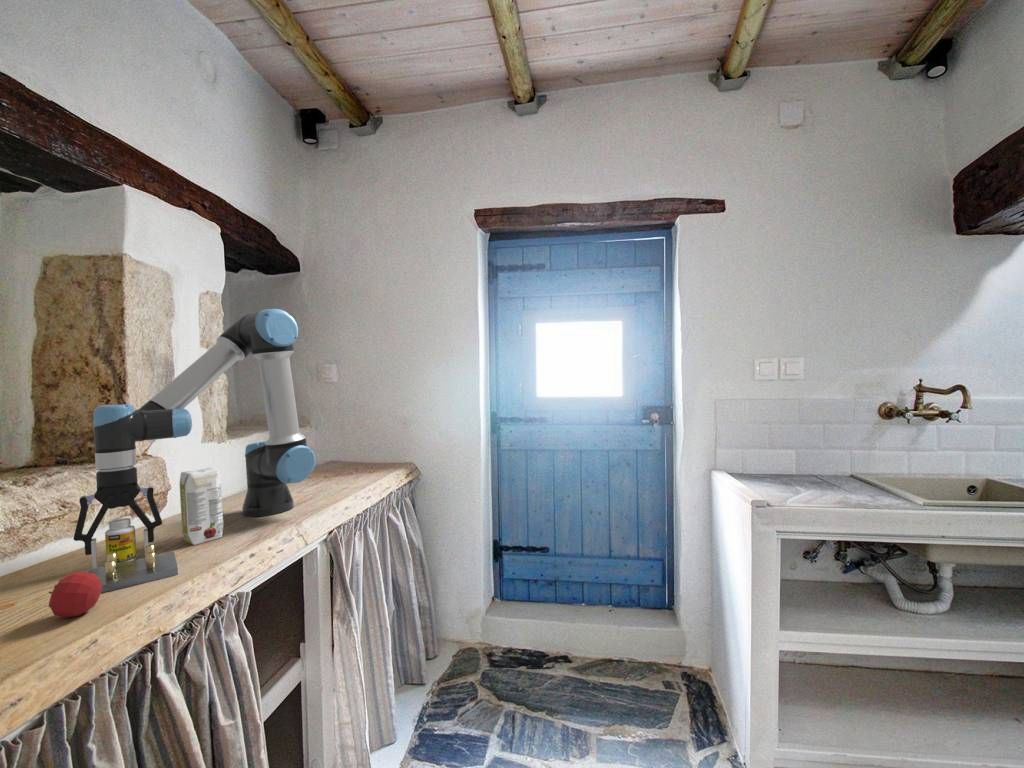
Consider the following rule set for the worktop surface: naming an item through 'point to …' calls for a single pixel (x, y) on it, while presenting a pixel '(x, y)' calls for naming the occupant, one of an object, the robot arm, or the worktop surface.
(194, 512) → the juice carton
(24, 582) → the worktop surface
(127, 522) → the supplement bottle
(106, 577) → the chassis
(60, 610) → the tomato
